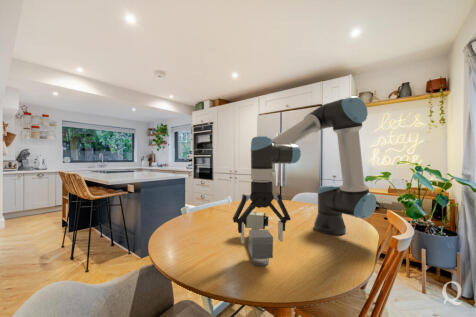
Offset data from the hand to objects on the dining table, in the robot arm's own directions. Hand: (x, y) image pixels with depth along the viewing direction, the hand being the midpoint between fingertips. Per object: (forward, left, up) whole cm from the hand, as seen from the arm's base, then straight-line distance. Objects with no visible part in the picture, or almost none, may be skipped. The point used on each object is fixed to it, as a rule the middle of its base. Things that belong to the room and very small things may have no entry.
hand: (261, 241), depth 70 cm
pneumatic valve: (-3, -23, -7) cm, 24 cm away
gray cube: (+1, 0, -4) cm, 4 cm away
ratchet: (0, -7, -7) cm, 10 cm away
